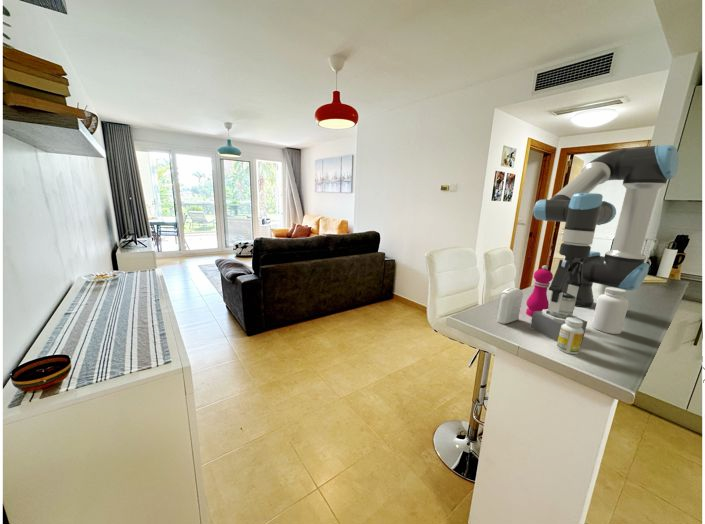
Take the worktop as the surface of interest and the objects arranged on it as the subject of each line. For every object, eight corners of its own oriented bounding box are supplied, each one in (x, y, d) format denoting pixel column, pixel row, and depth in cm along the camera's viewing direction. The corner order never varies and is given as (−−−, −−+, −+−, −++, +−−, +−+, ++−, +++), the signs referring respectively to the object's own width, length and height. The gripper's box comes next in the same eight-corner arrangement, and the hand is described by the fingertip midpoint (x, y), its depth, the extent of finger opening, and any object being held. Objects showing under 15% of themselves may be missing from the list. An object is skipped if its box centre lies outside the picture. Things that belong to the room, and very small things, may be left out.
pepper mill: (520, 312, 112) (529, 263, 108) (533, 310, 114) (543, 262, 110) (536, 319, 106) (547, 268, 101) (550, 318, 108) (561, 267, 103)
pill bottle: (602, 324, 105) (612, 285, 101) (626, 334, 97) (638, 292, 94) (585, 325, 103) (595, 285, 100) (608, 335, 95) (620, 293, 92)
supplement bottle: (555, 350, 84) (562, 320, 82) (556, 343, 88) (563, 314, 86) (578, 356, 81) (586, 325, 79) (578, 349, 85) (585, 319, 83)
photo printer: (508, 315, 108) (513, 284, 106) (519, 319, 105) (525, 288, 102) (493, 320, 103) (498, 288, 100) (505, 325, 99) (511, 292, 97)
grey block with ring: (554, 325, 101) (558, 308, 100) (583, 338, 92) (587, 319, 90) (530, 327, 98) (533, 309, 97) (557, 341, 89) (561, 322, 88)
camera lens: (565, 314, 96) (570, 292, 94) (575, 321, 90) (581, 298, 88) (545, 311, 97) (549, 289, 96) (553, 318, 91) (558, 295, 90)
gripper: (576, 240, 98) (563, 297, 103) (545, 244, 84) (532, 310, 89) (603, 243, 93) (588, 304, 97) (575, 248, 78) (559, 319, 83)
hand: (561, 307), depth 93 cm, fingers open, 13 cm apart
